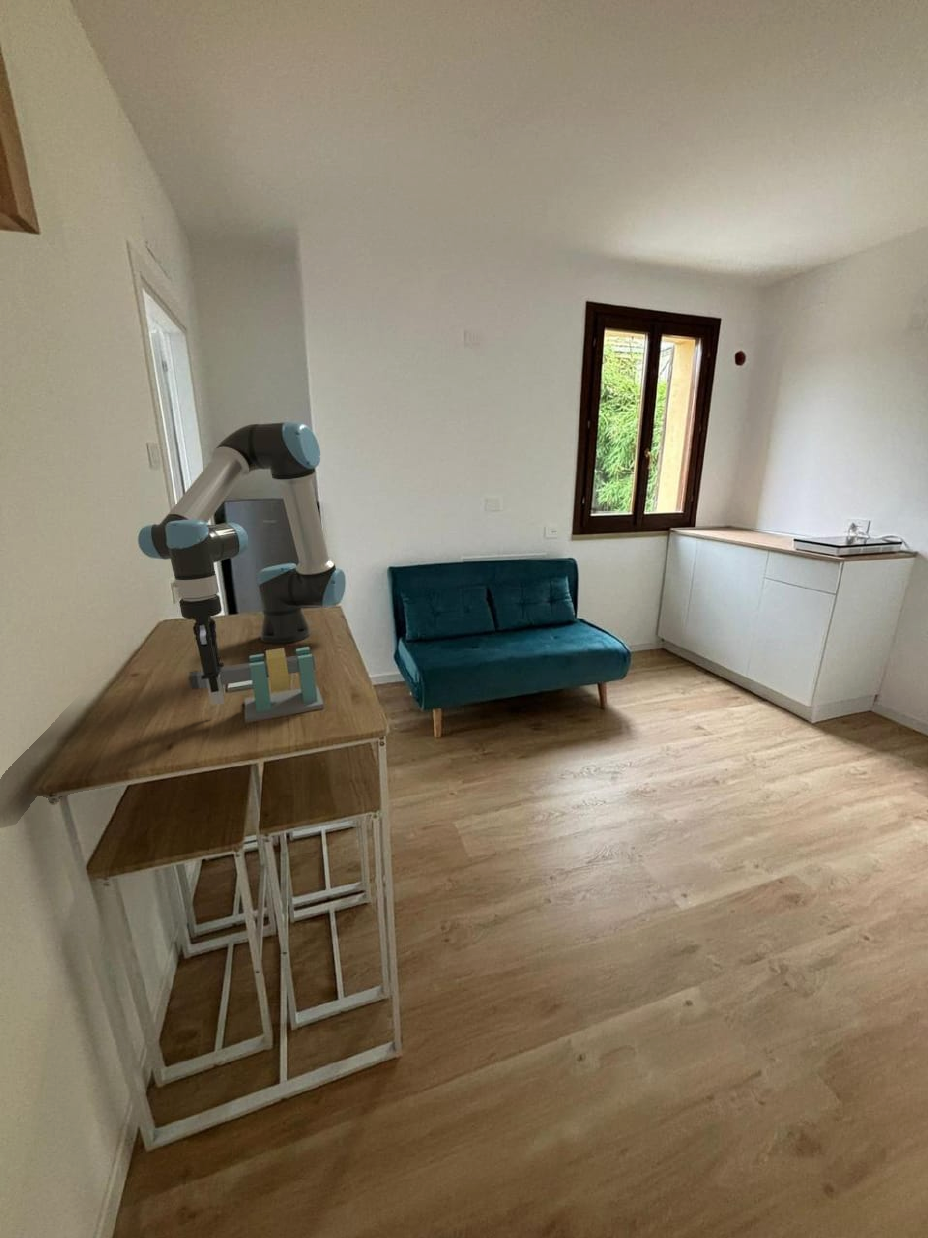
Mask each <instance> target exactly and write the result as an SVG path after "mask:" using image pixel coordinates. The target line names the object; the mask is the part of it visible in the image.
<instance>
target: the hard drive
mask: <svg viewBox="0 0 928 1238" xmlns="http://www.w3.org/2000/svg"><path fill="white" fill-rule="evenodd" d="M248 689H253V684H252V680H249V681H243V682H237V683H231V684H227V692H236V691H242V690H248Z"/></svg>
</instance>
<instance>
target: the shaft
mask: <svg viewBox="0 0 928 1238" xmlns="http://www.w3.org/2000/svg"><path fill="white" fill-rule="evenodd" d="M310 654H312V658H313V667H314V671H315V670H316V661H315V656H314V653H312V652H310ZM303 655H308V654H303ZM298 656H302V655H292V656H286V661H287V669H288V675H291V674H297V673H298V674H299V672H300V670H299V663H298ZM258 662H263V661H258ZM264 662H265V669H266V675H267V678H269V673H268V666H267V660H266V659H265V660H264ZM251 663H256V662H251ZM218 672H219V674H220V678H221V684H222V685H224V686H225V685H228V684H231V683H237V682H243V681H249V680H252V677H251V671H250V662H247V663H240V664H233V665H227V666H226V665H225V666H224V667H218ZM203 675H204V673H203V669H201V670H200V669H199V670H198V669H197V670H191V671H189V675H188V680H189V686H190V690H191V691H194V690H200V689H208V688H207V683H206V679H202V678H201V677H202V676H203Z"/></svg>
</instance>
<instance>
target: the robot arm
mask: <svg viewBox="0 0 928 1238" xmlns="http://www.w3.org/2000/svg"><path fill="white" fill-rule="evenodd" d="M211 453H212V454H211V461H210V462H209V463H208V464H207V465H206V467H205V468H204V470H202V472H201V473H200V474H199V475H198V476H197V478H196V479H195V480H194V482H193V483H192V484H191V485H190V486H189V488H187V490H186V491H185V493H184V494H183V495H182V496H181V498H180V499H179V500H178V501H177V502H176V504H175V505H174V506H173V507H172V509H171V510H169V512H168V513H167V515H165V517H164V518H163V519H162V521H161V522H160V523H159V524H156V523H154V524H149V525H145V526H144V527H142V528H141V529H140V531H139V534H138V536H137V537H138V538H137V541H138V542H137V543H138V546H139V549H140V550H141V551H142V553H143V554H144V555H145V556H146V557H148V558H151V559H157V560H170V561H171V566H172V571H173V577H174V581H175V582H173V583H172V587H173V588H177V589H176V591H177V592H176V593H177V596H178V598H180V600H178V602H179V603H178V604H179V608H180V614H181V617H182V618H183V619H186V620H194V621H195V622H194V623H193V624H194V626H193V627H192V630H193V634H194V635H195V641H196V644H197V648H198V651H199V659H200V663H201V668H202V670H203V673H204V675H203V676H202V677H201V678H202V679H206V683H207V688H206V689H207V692H208V698H209V703H210V707H211V706H217V705H223V704H225V702H226V701H225V697H226V689H225V685H222V684H221V678H220V674H219V672H218V667H225V666H224V662H221V658H220V654H219V648H218V644H217V643H218V641H217V638H218V637H217V632H216V631H217V630H216V629H217V627H216V626H217V625H216V621H215V619H213V617H216V616H218V615H220V614H221V613H222V604H221V597H220V596H219V594H218V593H219V592H220V591H219V585H218V584H219V583H218V579H217V573H216V570H215V563H216V562H217V563H218V562H221V561H224V560H227V559H233V558H236V557H237V556H240V555H242V554H244V553H245V552H246V551H247V549H248V546H249V537H248V533H247V532H246V530H245V528H243V526H241V525H240V524H238V523H237V522H236V523H235V522H222V523H219V524H208V523H209V521H210V520H211V518H212V517H213V516H214V514H215V513H216V512H217V511H218V509H219V507H220V506H221V505H222V504H223V503H224V501H225V499H226V498H227V497H228V495H229V494H230V492H231V491H232V490H233V488H234V487H235V486H236V485H237V483H238V482H239V481H240V480H243V479H245V478H247V476H248V475H249V474H250V473H251V472H253V471H258V470H270V474H271V479H273V480H274V481H275V482H277V483H279V485H280V486H279V487H280V490H281V494H282V499H283V502H284V503H283V504H284V506H285V511H286V515H287V519H288V523H289V527H290V530H291V535H292V539H293V542H294V543H293V544H294V546H295V550H296V555H297V557H298V558H297V559H298V563H297V564H296V563H293V562H290V563H282V564H277V565H271V566H268V567H265V568H262V569H260V570H259V571H258V574H257V579H258V581H257V582H258V584H257V585H258V587H259V595H260V600H261V608H262V612H263V613H262V614H263V617H262V623H261V626H260V627H261V628H260V640H261V641H262V642H263V643H265V644H271V645H281V644H282V645H283V644H290V643H294V642H298V641H301V640H305V639H306V638H308V637H309V636H310V635H311V628H310V625H309V623H308V621H307V618H306V617H305V615H304V613H303V609H302V607H315V608H316V607H317V608H318V607H319V608H321V607H322V608H327V607H329V608H330V607H336V606H338V605H339V604H340V603H341V602H342V600H343V598H344V595H345V592H346V584H347V581H346V574H345V572H344V570H343V569H340V568H336V567H337V566H336V562H335V560H334V559H332V558H331V557H330V556H329V553H328V550H327V545H326V539H325V536H324V532H323V531H324V529H323V528H322V527H323V526H322V523H321V517H320V511H319V508H318V503H317V499H316V494H315V491H314V490H315V489H314V486H313V480H312V479H313V477H314V476H315V474H316V468H317V467H318V466H319V465H320V462H321V457H320V456H321V450H320V445H319V442H318V440H317V437H316V435H315V433H314V432H313V431H312V429H311V428H310V427H309V426H308V425H306V424H305V423H301V422H291V421H286V422H285V421H284V422H274V423H273V422H272V423H270V422H269V423H253V424H252V423H251V424H248V425H245V426H242V427H240V428H238V429H237V430H235V431H234V432H232V433H230V434H229V435H227V437H225V438H224V439H223V440H222V441H221V442H220V443H219V444H218V445H217V446H216V448H214V450H213V452H211Z"/></svg>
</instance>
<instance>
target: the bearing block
mask: <svg viewBox="0 0 928 1238" xmlns="http://www.w3.org/2000/svg"><path fill="white" fill-rule="evenodd" d="M295 653H296V655H295V656H297V655H302V656H298V663H299V670H300V672H298V676H299V684H300V688H297V689H289V690H283V691H277V692H272V693H270V685H269V680H268V679H269V678H268V677H267V675H266V669H265V662H264V660H266V658H265V654H264V653H259V654H253V655H249V663H250V671H251V677H252V684H253V688H252V689H253V695H254V696H251V697H246V698H245V697H244V721H245V724H249V723H253V722H257V721H264V720H267V719H274V718H278V717H285V716H290V715H295V714H299V713H300V714H301V713H307V712H310V711H315V710H316V711H317V710H322V709H324V707H325V705H324V702H323V698H322V696H321V692H320V689H319V686H318V685H316V677H315V670H314V667H313V658H312V654H310V653H311V649H310V646H306V647H301V648H299V647H298V648H296V649H295ZM303 654H308V655H303ZM258 661H263V662H258ZM251 662H256V663H251Z"/></svg>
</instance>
